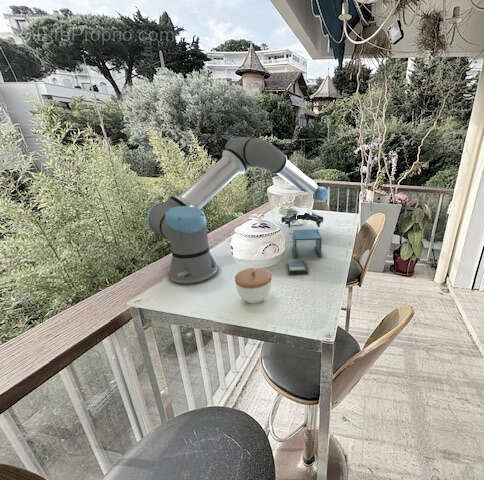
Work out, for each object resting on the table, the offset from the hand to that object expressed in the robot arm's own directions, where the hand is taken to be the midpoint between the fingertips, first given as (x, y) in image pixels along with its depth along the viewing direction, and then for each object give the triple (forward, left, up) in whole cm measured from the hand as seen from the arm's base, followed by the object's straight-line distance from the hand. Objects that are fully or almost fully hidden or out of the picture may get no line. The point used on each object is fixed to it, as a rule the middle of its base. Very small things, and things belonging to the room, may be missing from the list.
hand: (304, 224), depth 121 cm
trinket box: (+19, -43, -10) cm, 48 cm away
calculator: (+15, -20, -10) cm, 27 cm away
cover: (+7, -6, -10) cm, 14 cm away
